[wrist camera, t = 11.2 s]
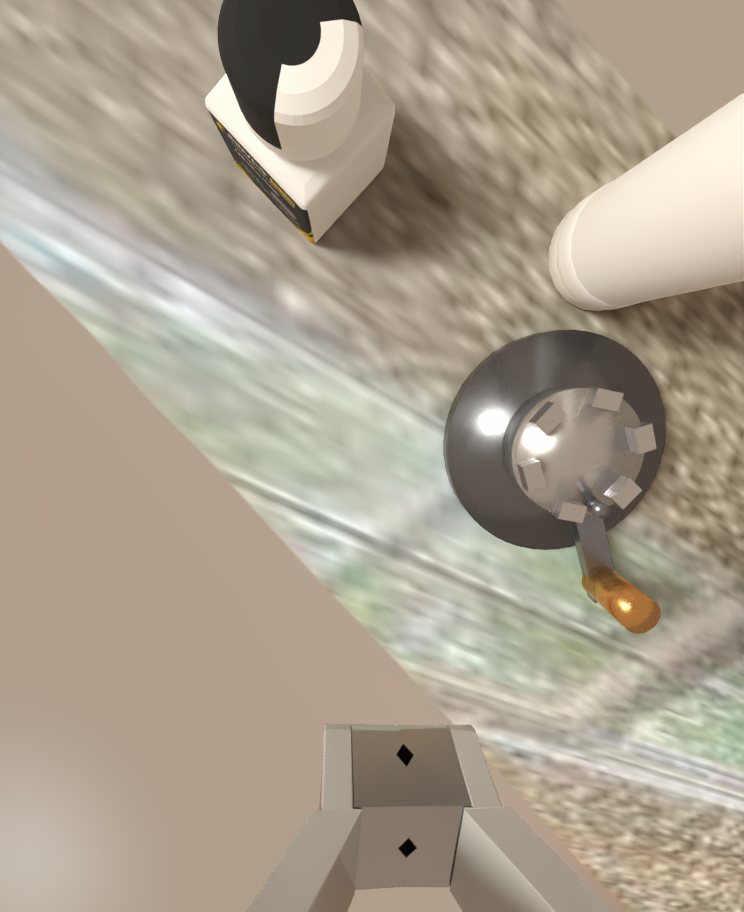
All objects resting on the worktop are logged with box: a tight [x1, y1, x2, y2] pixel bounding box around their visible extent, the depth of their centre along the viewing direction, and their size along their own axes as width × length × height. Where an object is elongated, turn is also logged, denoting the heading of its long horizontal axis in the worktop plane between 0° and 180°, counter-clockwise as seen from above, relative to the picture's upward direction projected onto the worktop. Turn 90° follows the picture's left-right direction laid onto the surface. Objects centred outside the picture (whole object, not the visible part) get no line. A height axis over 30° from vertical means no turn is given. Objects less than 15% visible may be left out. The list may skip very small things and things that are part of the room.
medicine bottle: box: [205, 0, 395, 243], centre depth 23 cm, size 7×7×12 cm
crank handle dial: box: [502, 386, 660, 633], centre depth 30 cm, size 17×9×6 cm, turn 18°
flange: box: [444, 330, 665, 550], centre depth 33 cm, size 17×17×2 cm
